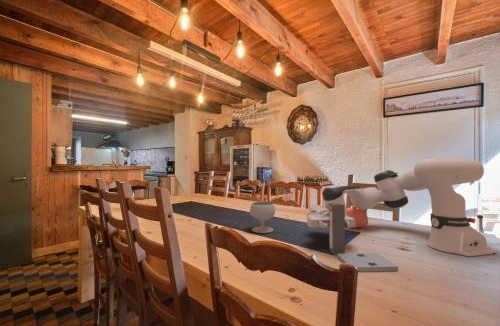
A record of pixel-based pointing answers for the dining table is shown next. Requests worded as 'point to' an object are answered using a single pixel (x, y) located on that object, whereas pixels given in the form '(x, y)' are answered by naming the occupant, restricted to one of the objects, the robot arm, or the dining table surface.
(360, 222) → the teapot
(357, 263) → the mounting plate
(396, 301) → the dining table surface
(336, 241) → the tall taupe pillar
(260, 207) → the chalice
